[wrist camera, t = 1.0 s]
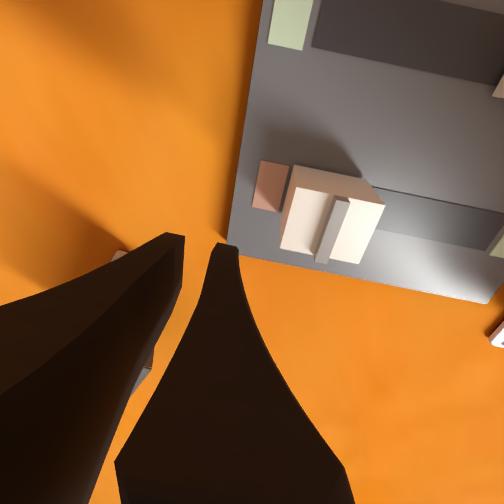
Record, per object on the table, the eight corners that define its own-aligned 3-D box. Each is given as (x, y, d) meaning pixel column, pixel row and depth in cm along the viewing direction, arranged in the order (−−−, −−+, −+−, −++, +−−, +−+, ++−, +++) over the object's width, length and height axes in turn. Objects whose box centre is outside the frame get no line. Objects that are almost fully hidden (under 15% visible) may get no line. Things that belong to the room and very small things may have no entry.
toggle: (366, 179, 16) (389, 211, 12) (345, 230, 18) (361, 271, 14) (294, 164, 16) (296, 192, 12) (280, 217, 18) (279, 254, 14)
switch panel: (698, 6, 12) (739, -1, 11) (476, 292, 21) (487, 305, 20) (278, -87, 12) (278, -102, 11) (227, 242, 21) (224, 252, 19)
